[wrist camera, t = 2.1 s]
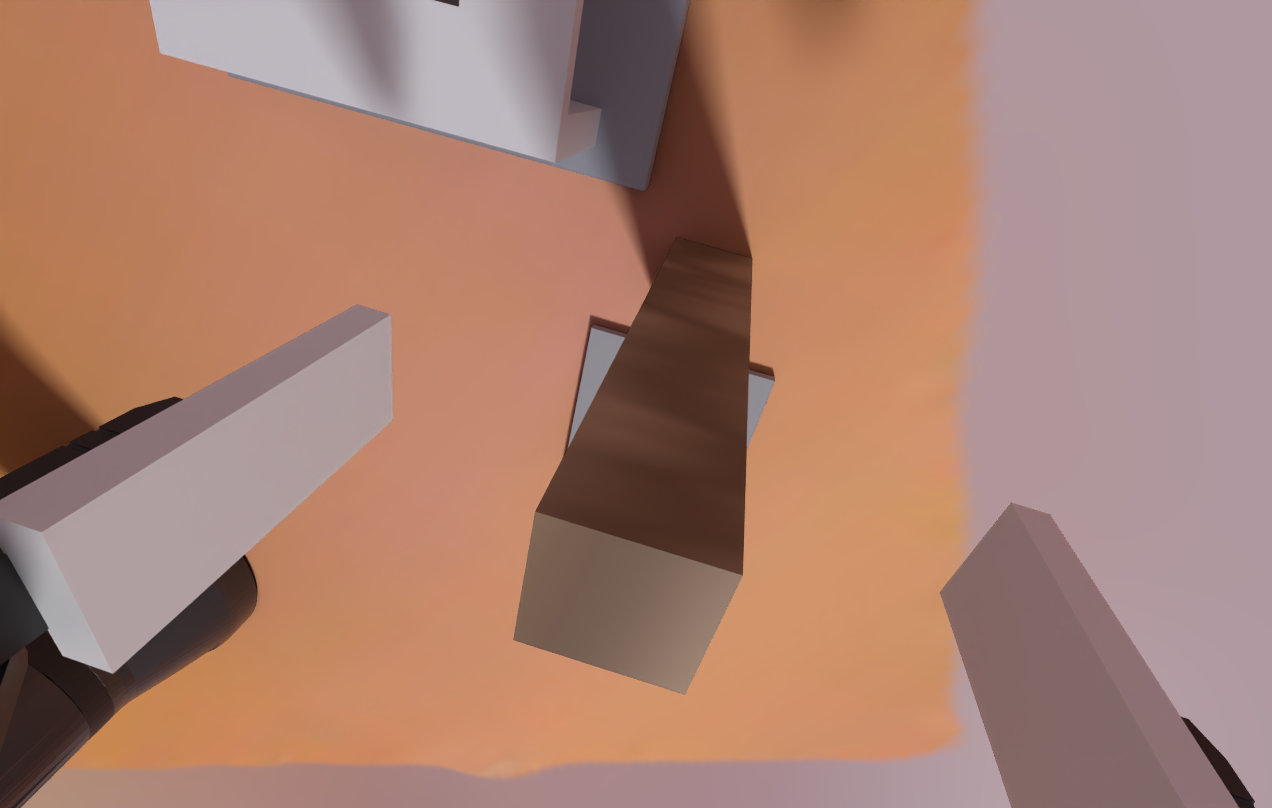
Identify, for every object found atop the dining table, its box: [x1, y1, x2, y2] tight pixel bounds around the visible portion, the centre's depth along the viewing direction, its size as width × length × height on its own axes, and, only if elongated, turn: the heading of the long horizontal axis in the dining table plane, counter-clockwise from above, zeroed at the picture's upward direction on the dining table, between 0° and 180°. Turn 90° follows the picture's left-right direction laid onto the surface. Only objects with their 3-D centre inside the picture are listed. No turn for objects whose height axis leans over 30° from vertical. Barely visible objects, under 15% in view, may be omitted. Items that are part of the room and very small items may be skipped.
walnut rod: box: [513, 237, 752, 695], centre depth 15 cm, size 3×3×16 cm
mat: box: [568, 325, 775, 447], centre depth 26 cm, size 8×8×1 cm
